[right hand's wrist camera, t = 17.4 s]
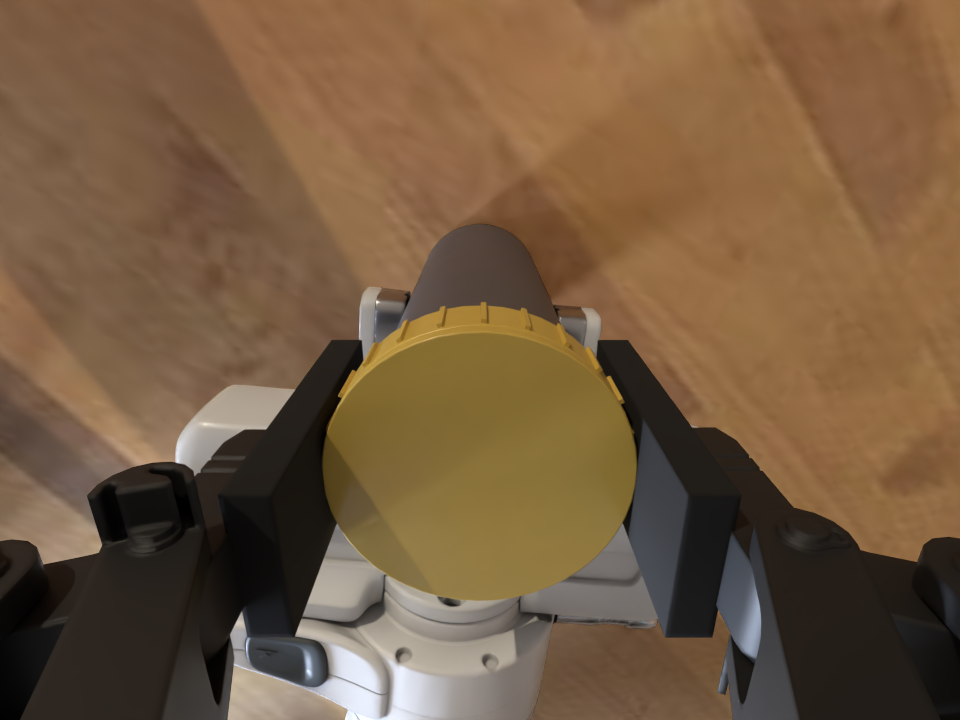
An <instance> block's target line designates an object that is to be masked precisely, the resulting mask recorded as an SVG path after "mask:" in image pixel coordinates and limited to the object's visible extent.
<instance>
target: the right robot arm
mask: <svg viewBox="0 0 960 720" xmlns="http://www.w3.org/2000/svg"><path fill="white" fill-rule="evenodd" d="M596 358H597V360H598V362H599V364H600V366H601V368H602V370H603V372H604V374H605V376H606V377H608V376H611V378H612V380H613V382H614V384H615V385H616V387H617V389H618V391H619V393H620V394H621V396H622V398H623V400H624V402H625V403H623V404H621V406H622V407H623V409H624V411H625V413H626V416H627V418H628V421H629V423H630V426H631V428H632V430H633V432H634V440H635V444H636V449H637V462H638V466H637V475H636V484H635V491H634V496H633V500H632V503H631V505H630V508H629V510H628V513H627V515H626V518H625V519H624V521H623V525H624V528H625V531H626V534H627V536H628V539H629V542H630V544H631V547H632V550H633V552H634V555H635V558H636V560H637V563H638V566H639V569H640V571H641V574H642V577H643V579H644V582H645V585H646V587H647V590H648V593H649V595H650V598H651V601H652V603H653V606H654V609H655V612H656V614H657V617H658V620H659V622H660V625H661V628H662V630H663V633H664V636H665V637H712V636H713V632H714V627H715V622H716V617H717V612H718V610H719V612H720V614H721V616H722V618H723V620H724V622H725V624H726V626H727V628H728V630H729V632H730V637H729V641H728V646H727V650H726V655H725V659H724V663H723V668H722V672H721V677H720V682H719V688H718V693H720V694H724V695H725V694H726V690H727V686H728V683H729V691H730V699H731V708H732V717H733V720H960V539H959V538H952V537H944V538H934V539H931V540H930V541H928V542H927V543H926V544H924V545H923V548H922V551H921V553H920V556H919V559H918V562H913V561H908V560H903V559H898V558H893V557H888V556H884V555H879V554H874V553H869V552H865V551H862V550H860V548H859V546H858V544H857V543H856V542H855V540H854V539H853V538H852V536H851V535H850V534H849V533H848V532H847V531H846V530H844V529H843V528H841V527H840V526H839V525H837V524H836V523H835V522H833V521H831V520H829V519H827V518H824V517H822V516H820V515H818V514H816V513H812V512H809V511H805V510H801V509H797V508H794V507H793V506H792V505H791V504H790V503H789V502H788V500H787V499H786V498H785V497H784V496H783V495H782V493H781V492H780V491H779V490H778V489H777V488H776V486H775V485H774V484H773V483H772V482H771V480H770V479H769V478H768V477H767V476H766V475H765V473H764V472H763V471H760V469H759V466H758V465H757V464H756V463H755V462H754V461H753V459H752V458H749V455H748V453H747V452H746V451H745V450H744V449H743V448H742V446H741V445H740V444H739V443H738V442H737V441H736V440H735V439H733V438H732V437H730V436H728V435H727V434H725V433H723V432H722V431H720V430H718V429H717V428H692V427H691V425H690V424H689V423H688V421H687V420H686V419H685V417H684V416H683V414H682V413H681V412H680V410H679V409H678V408H677V406H676V405H675V404H674V402H673V401H672V400H671V398H670V397H669V395H668V394H667V393H666V391H665V390H664V389H663V387H662V386H661V385H660V383H659V382H658V380H657V379H656V378H655V376H654V375H653V374H652V372H651V371H650V370H649V368H648V367H647V366H646V364H645V363H644V361H643V360H642V359H641V357H640V356H639V355H638V353H637V352H636V351H635V349H634V348H633V347H632V345H631V344H630V342H629V341H628V340H598V344H597V356H596ZM363 361H364V360H363V348H362V340H332V341H331V342H330V343H329V345H328V346H327V347H326V349H325V350H324V352H323V353H322V354H321V356H320V357H319V358H318V360H317V361H316V362H315V364H314V365H313V366H312V368H311V369H310V371H309V372H308V373H307V375H306V376H305V377H304V379H303V380H302V381H301V383H300V384H299V385H298V387H297V388H296V390H295V391H294V392H293V394H292V395H291V396H290V398H289V399H288V400H287V402H286V403H285V404H284V406H283V407H282V409H281V410H280V411H279V413H278V414H277V415H276V417H275V418H274V419H273V421H272V422H271V423H270V425H269V426H268V428H267V429H244V430H243V431H241V432H240V433H238V434H236V435H235V436H233V437H231V438H230V439H228V440H226V441H225V442H223V444H222V445H221V446H220V447H219V448H218V450H217V451H216V452H215V453H214V454H213V455H212V457H211V460H208V461H207V463H206V464H205V465H204V466H203V467H202V468H201V472H200V473H197V474H196V476H194V471H193V470H192V469H191V468H189V467H188V466H186V465H185V464H180V463H175V462H158V463H150V464H145V465H141V466H136V467H132V468H130V469H127V470H125V471H122V472H120V473H117V474H115V475H113V476H111V477H109V478H108V479H106V480H104V481H103V482H101V483H100V484H98V485H97V486H96V487H95V488H94V489H93V490H92V491H91V492H90V493H89V494H88V495H87V497H88V501H89V504H90V507H91V510H92V513H93V517H94V520H95V523H96V526H97V529H98V533H99V536H100V539H101V542H102V547H101V549H100V551H99V553H96V554H93V555H88V556H84V557H79V558H74V559H69V560H64V561H59V562H54V563H49V564H45V565H43V563H42V560H41V557H40V555H39V552H38V549H37V547H36V546H34V545H33V544H31V543H30V542H28V541H21V540H6V541H0V720H227V718H228V710H229V701H230V692H231V683H232V675H233V666H234V652H233V646H232V641H231V637H230V634H231V632H232V630H233V628H234V626H235V624H236V622H237V620H238V618H239V616H240V614H241V612H242V614H243V619H244V624H245V628H246V633H247V638H248V637H295V635H296V632H297V630H298V627H299V624H300V621H301V619H302V616H303V613H304V611H305V608H306V605H307V603H308V600H309V597H310V595H311V592H312V589H313V586H314V584H315V581H316V578H317V576H318V573H319V570H320V568H321V565H322V562H323V560H324V557H325V554H326V552H327V549H328V546H329V543H330V541H331V538H332V535H333V533H334V530H335V527H336V525H337V522H336V520H335V518H334V516H333V514H332V512H331V510H330V507H329V504H328V501H327V498H326V494H325V486H324V479H323V470H322V454H323V447H324V440H325V437H326V433H327V431H325V430H326V426H327V424H328V422H329V421H330V419H331V417H332V415H333V413H334V411H335V409H336V408H337V406H338V404H339V402H340V401H341V399H342V398H340V397H338V395H339V393H340V391H341V390H342V388H343V386H344V384H345V382H346V381H347V379H348V377H349V375H350V373H351V372H352V370H354V371H357V370H358V368H359V367H360V365H361V364H362V362H363Z"/></svg>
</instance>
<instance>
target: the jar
mask: <svg viewBox="0 0 960 720" xmlns="http://www.w3.org/2000/svg"><path fill="white" fill-rule="evenodd" d="M481 302H486V306H496V307H505V308H510V309H514V310H519V311H520V310H521V308H525V309H527V313H529V314H532V315H534V316H537V317H540V318H542V319H544V320H546V321H548V322H550V323H552V324H554V325H556V326H557V324H558V323H560V321H559V319H558V316H557V314H556V312H555V310H554V307H553V305H552V303H551V301H550V298H549V296H548V294H547V291H546V289H545V287H544V285H543V282H542V280H541V278H540V275H539V273H538V271H537V269H536V266H535V264H534V262H533V259H532V257H531V255H530V253H529V252H528V250H527V248H526V247H525V246H524V245H523V243H522V242H521V241H520V240H519V239H518V238H517V237H515V236H514V235H513V234H511V233H510V232H508V231H506V230H504V229H502V228H499V227H496V226H492V225H487V224H474V225H468V226H463V227H461V228H458V229H456V230H454V231H452V232H450V233H449V234H447V235H446V236H444V237H443V238H442V239H441V240H440V241H439V242H438V243H437V244H436V245H435V247H434V248H433V250H432V251H431V253H430V254H429V257H428V259H427V261H426V264H425V266H424V268H423V270H422V273H421V275H420V277H419V280H418V282H417V284H416V286H415V289H414V291H413V293H412V295H411V298H410V300H409V302H408V305H407V307H406V309H405V311H404V314H403V316H402V318H401V320H400V323H399V325H398V327H397V329H399V328H401V325H402V323H403V321H405V320H407V319H408V321H409V322H411V321H413V320H416V319H418V318H420V317H422V316H424V315H427V314H431V313H434V312H437V311H439V310H440V307H442V306H446V309H450V308H456V307H462V306H480V305H481ZM560 324H561V323H560Z"/></svg>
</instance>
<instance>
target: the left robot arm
mask: <svg viewBox="0 0 960 720" xmlns="http://www.w3.org/2000/svg"><path fill="white" fill-rule="evenodd" d="M409 300H410V291H403V290H394V289H386V288H380V287H368V288H367V289H366V290H365V292H364V293H363V294H362V299H361V304H360V320H359V340H362V348H363V360H364V359H365V358H366V356H367V354H368V352H369V350H370V348H371V346H372V344H373V343H375V342H377V343H378V344H379V343H380V342H381V341H383V340H384V339H385V338H386V337H387V336H389V335H390V334H391V333H392V332H394V331H396V330H397V327H398V325H399V323H400V320H401V318H402V316H403V314H404V311H405V309H406V307H407V305H408V302H409ZM553 307H554V310H555V312H556V314H557V316H558V319H559V321H560V323H561V325H563V327H564V329H565V332H567V333H568V334H569V335H571V336H572V337H574V338H575V339H576V340H577V341H578V342H579V343H580V344H581V345H582V346H583V347H585V348H587V347H588V346H589V347H590V348H591V349H592V351H593V353H594V354H595V356H596V355H597V344H598V340H599V339H600V334H601V317H600V316H599V314H598V313H597V311H596V310H595V308H584V307H573V306H562V305H554V306H553ZM294 391H295V389H284V388H273V387H261V386H251V385H231V386H229V387H227V388H225V389H224V390H223V391H221V392H220V393H219V394H218V395H217V396H215V397H214V398H213V399H212V400H211V401H210V402H208V403H207V404H206V405H205V406H204V407H203V408H202V409H201V410H200V411H199V412H198V413H197V414H196V415H195V416H194V417H193V418H192V420H191V421H190V422H189V423H188V424H187V426H186V427H185V428H184V430H183V431H182V433H181V435H180V437H179V439H178V442H177V445H176V463H180V464H185V465H186V466H188V467H189V468H191V469H192V470H193V471H194V476H196V474H197V473H200V472H201V468H202V467H203V466H204V465H205V464H206V463H207V461H208V460H211V457H212V455H213V454H214V453H215V452H216V451H217V450H218V448H219V447H220V446H221V445H222V444H223V442H225V441H226V440H228V439H230V438H231V437H233V436H235V435H236V434H238V433H240V432H241V431H243V430H244V429H267V428H268V426H269V425H270V423H271V422H272V421H273V419H274V418H275V417H276V415H277V414H278V413H279V411H280V410H281V409H282V407H283V406H284V404H285V403H286V402H287V400H288V399H289V398H290V396H291V395H292V394H293V392H294ZM691 427H692V428H699V427H697V426H693V425H691ZM554 622H555V623H565V624H578V625H602V624H603V625H604V624H612V625H614V624H615V625H624V627H627V628H632V629H649V628H654V627H656V625H657V622H658V617H657V614H656V612H655V609H654V606H653V603H652V601H651V598H650V595H649V593H648V590H647V587H646V585H645V582H644V579H643V577H642V574H641V571H640V569H639V566H638V563H637V560H636V558H635V555H634V552H633V550H632V547H631V544H630V542H629V539H628V536H627V534H626V531H625V528H624V525H623V523H622V525H621V527H620V528H619V530H618V532H617V533H616V535H615V536H614V537H613V539H612V540H611V541H610V543H609V544H608V545H607V546H606V547H605V548H604V549H603V551H602V552H601V553H600V554H599V555H598V556H597V557H596V558H595V559H594V560H592V561H591V562H590V563H588V564H587V565H586V566H585V567H583V568H582V569H581V570H580V571H578V572H576V573H575V574H573V575H572V576H570V577H568V578H567V579H565V580H563V581H561V582H559V583H557V584H555V585H553V586H551V587H548V588H546V589H543V590H540V591H537V592H534V593H531V594H527V595H523V596H519V597H515V598H508V599H501V600H488V601H471V600H457V599H451V598H446V597H440V596H436V595H433V594H429V593H425V592H422V591H419V590H417V589H414V588H412V587H409V586H407V585H404V584H402V583H401V582H399V581H397V580H395V579H393V578H391V577H389V576H388V575H386V574H385V573H383V572H382V571H380V570H379V569H377V568H376V567H375V566H373V565H372V564H371V563H370V562H369V561H367V560H366V559H365V558H364V557H363V556H362V555H361V554H360V553H359V552H358V551H357V550H356V549H355V548H354V547H353V545H352V544H351V543H350V542H349V541H348V539H347V538H346V537H345V535H344V534H343V532H342V531H341V529H340V528H339V526H338V524H337V525H336V527H335V530H334V533H333V535H332V538H331V541H330V543H329V546H328V549H327V552H326V554H325V557H324V560H323V562H322V565H321V568H320V570H319V573H318V576H317V578H316V581H315V584H314V586H313V589H312V592H311V595H310V597H309V600H308V603H307V605H306V608H305V611H304V613H303V616H302V619H301V621H300V624H299V627H298V630H297V632H296V635H295V637H248V638H247V633H246V628H245V624H244V619H243V614H242V612H241V614H240V616H239V618H238V620H237V622H236V624H235V626H234V628H233V630H232V632H231V634H230V637H231V641H232V646H233V652H234V665H236V666H238V667H241V668H244V669H247V670H250V671H254V672H257V673H260V674H264V675H267V676H270V677H273V678H276V679H279V680H282V681H285V682H288V683H291V684H294V685H296V686H299V687H302V688H304V689H307V690H309V691H312V692H314V693H316V694H318V695H321V696H323V697H325V698H327V699H329V700H331V701H333V702H335V703H337V704H339V705H340V706H342V707H344V708H346V709H348V711H347V714H346V718H345V720H530V718H531V716H532V714H533V711H534V709H535V706H536V703H537V700H538V696H539V692H540V686H541V681H542V676H543V671H544V666H545V661H546V656H547V650H548V646H549V641H550V636H551V631H552V626H553V624H554Z"/></svg>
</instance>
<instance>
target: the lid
mask: <svg viewBox="0 0 960 720" xmlns="http://www.w3.org/2000/svg"><path fill="white" fill-rule="evenodd" d="M338 397H340V398H342V399H341V401H340V402H339V404H338V406H337V408H336V409H335V411H334V413H333V415H332V417H331V419H330V421H329V422H328V424H327V426H326V430H325V431H327V433H326V437H325V440H324V447H323V454H322V470H323V479H324V486H325V494H326V498H327V501H328V504H329V507H330V510H331V512H332V514H333V516H334V518H335V520H336V522H337V524H338V526H339V528H340V529H341V531H342V532H343V534H344V535H345V537H346V538H347V539H348V541H349V542H350V543H351V544H352V545H353V547H354V548H355V549H356V550H357V551H358V552H359V553H360V554H361V555H362V556H363V557H364V558H365V559H366V560H367V561H369V562H370V563H371V564H372V565H373V566H375V567H376V568H377V569H379V570H380V571H382V572H383V573H385V574H386V575H388V576H389V577H391V578H393V579H395V580H397V581H399V582H401V583H402V584H404V585H407V586H409V587H412V588H414V589H417V590H419V591H422V592H425V593H429V594H433V595H436V596H440V597H446V598H451V599H457V600H471V601H488V600H501V599H508V598H515V597H519V596H523V595H527V594H531V593H534V592H537V591H540V590H543V589H546V588H548V587H551V586H553V585H555V584H557V583H559V582H561V581H563V580H565V579H567V578H568V577H570V576H572V575H573V574H575V573H576V572H578V571H580V570H581V569H582V568H583V567H585V566H586V565H587V564H588V563H590V562H591V561H592V560H594V559H595V558H596V557H597V556H598V555H599V554H600V553H601V552H602V551H603V549H604V548H605V547H606V546H607V545H608V544H609V543H610V541H611V540H612V539H613V537H614V536H615V535H616V533H617V532H618V530H619V528H620V527H621V525H622V523H623V521H624V519H625V518H626V515H627V513H628V510H629V508H630V505H631V503H632V500H633V496H634V491H635V484H636V475H637V466H638V462H637V449H636V444H635V440H634V432H633V430H632V428H631V426H630V423H629V421H628V418H627V416H626V413H625V411H624V409H623V407H622V406H621V404H623V403H625V402H624V400H623V398H622V396H621V394H620V393H619V391H618V389H617V387H616V385H615V384H614V382H613V380H612V378H611V376H608V377H606V376H605V374H604V372H603V370H602V368H601V366H600V364H599V362H598V360H597V358H596V356H595V354H594V353H593V351H592V349H591V348H590V347H589V346H588V347H587V348H585V347H583V346H582V345H581V344H580V343H579V342H578V341H577V340H576V339H575V338H574V337H572V336H571V335H569V334H568V333H567V332H565V329H564V327H563V325H561V324H560V323H558V324H557V326H556V325H554V324H552V323H550V322H548V321H546V320H544V319H542V318H540V317H537V316H534V315H532V314H529V313H527V309H525V308H521V310H520V311H519V310H514V309H510V308H505V307H496V306H486V302H481V305H480V306H462V307H456V308H450V309H446V306H442V307H440V310H439V311H437V312H434V313H431V314H427V315H424V316H422V317H420V318H418V319H416V320H413V321H411V322H409V321H408V319H407V320H405V321H403V323H402V325H401V328H399V329H397V330H396V331H394V332H392V333H391V334H390V335H389V336H387V337H386V338H385V339H384V340H383V341H381V342H380V343H379V344H378V343H377V342H375V343H373V344H372V346H371V348H370V350H369V352H368V354H367V356H366V358H365V359H364V361H363V362H362V364H361V365H360V367H359V368H358V370H357V371H354V370H352V372H351V373H350V375H349V377H348V379H347V381H346V382H345V384H344V386H343V388H342V390H341V391H340V393H339V395H338Z"/></svg>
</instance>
